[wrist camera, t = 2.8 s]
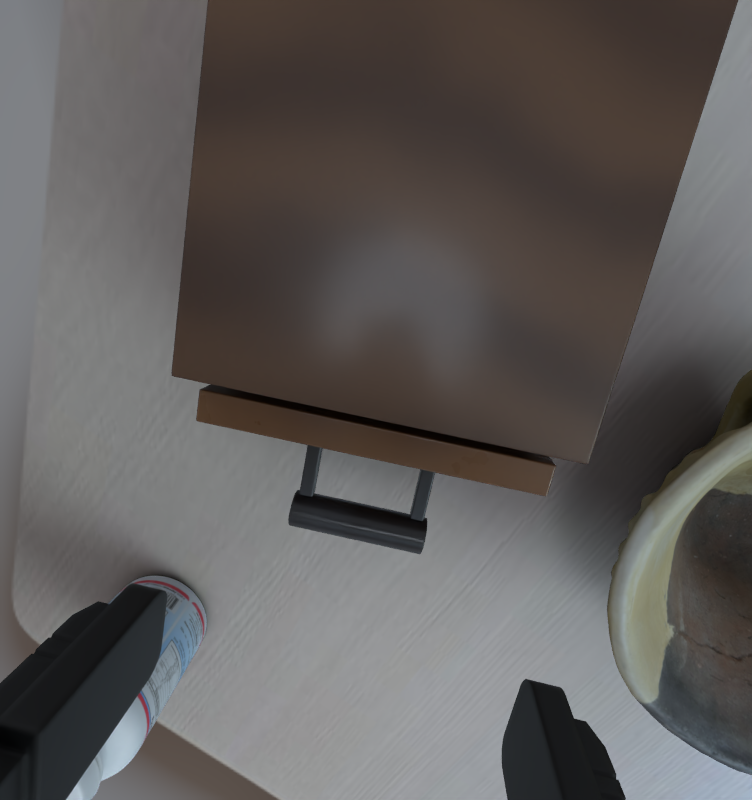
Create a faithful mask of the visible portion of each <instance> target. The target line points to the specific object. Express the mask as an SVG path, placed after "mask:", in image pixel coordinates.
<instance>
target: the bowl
mask: <svg viewBox="0 0 752 800" xmlns="http://www.w3.org/2000/svg"><path fill="white" fill-rule="evenodd" d="M628 529H629V533H628V537H627V538H626V539H625V540H624V541H623V542H622V543H621V544H620V545H619V550H618V553H619V555H618V560H617V562H616V563H615V564H614V566H613V568H612V571H611V575H612V580H611V584H610V590H609V597H608V605H607V613H608V624H609V634H610V640H611V645H612V651H613V655H614V658H615V661H616V664H617V667H618V670H619V672H620V674H621V676H622V678H623V680H624V681H625V683H626V685H627V686H628V688H629V690H630V692H631V693H632V695H633V696H634V697H635V698H636V699H637V701H638V702H639V703H640V704H641V705H642V706H643V707H644V708H645V709H646V710H647V711H648V712H649V713H650V714H651V715H652V716H653V717H654V718H655V719H656V720H657V721H658V722H659V723H660V724H662V725H663V726H664V727H665V728H666V729H667V730H669V731H670V732H671V733H673V734H674V735H676V736H677V737H679V738H680V739H682V740H683V741H685V742H686V743H687V744H689V745H690V746H692V747H693V748H695V749H697V750H698V751H700V752H701V753H703V754H705V755H707V756H709V757H711V758H713V759H714V760H716V761H718V762H720V763H722V764H724V765H726V766H728V767H730V768H733V769H735V770H737V771H741V772H744V773H747V774H750V775H752V370H750V371H749V372H748V373H746V374H745V375H744V376H743V377H742V378H741V379H740V380H739V382H738V383H737V385H736V387H735V389H734V391H733V393H732V395H731V398H730V400H729V402H728V404H727V406H726V409H725V412H724V414H723V416H722V419H721V421H720V423H719V426H718V429H717V431H716V433H715V435H714V437H713V438H712V440H711V441H710V442H709V443H708V444H707V445H706V446H704V447H702V448H699V449H697V450H693V451H691V452H690V453H689V454H688V455H687V456H686V457H684V458H683V460H682V462H681V463H680V464H678V465H676V466H675V467H674V468H673V469H672V471H670V472H669V473H668V474H667V475H666V477H665V480H664V482H663V484H662V485H661V487H660V488H659V490H658V491H657V492H655V493H651V494H647V495H646V496H645V497H644V498H643V499H642V501H641V508H640V510H639V512H638V513H637V514H636V515H635V516H634V517H633V518H632V519H631V520H630V521H629V523H628Z"/></svg>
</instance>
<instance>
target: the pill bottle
mask: <svg viewBox="0 0 752 800" xmlns="http://www.w3.org/2000/svg"><path fill="white" fill-rule="evenodd" d="M131 583H135V584H139V585H143V586H148V587H152V588H156V589H160V590H164V591H166V593H167V604H166V613H165V622H164V631H163V639H162V647H161V652H160V656H159V659H158V662H157V664H156V667H155V669H154V671H153V673H152V675H151V677H150V678H149V680H148V681H147V683H146V684H145V686H144V687H143V689H142V690H141V692H140V693H139V695H138V696H137V697H136V699H135V700H134V702H133V703H132V705H131V706H130V708H129V709H128V711H127V712H126V713H125V715H124V716H123V718H122V719H121V721H120V722H119V724H118V725H117V726H116V728H115V729H114V731H113V732H112V734H111V735H110V737H109V738H108V740H107V741H106V742H105V744H104V745H103V747H102V748H101V750H100V751H99V753H98V754H97V756H96V757H95V758H94V760H93V761H92V763H91V764H90V766H89V767H88V769H87V770H86V771H85V773H84V774H83V776H82V777H81V779H80V780H79V782H78V783H77V785H76V786H75V787H74V789H73V790H72V792H71V793H70V795H69V796H68V798H67V799H66V800H91V799H92V798H93V797H94V796H95V794H96V793H97V791H98V788H99V785H100V782H101V781H102V780H105V779H107V778H109V777H111V776H113V775H115V774H116V773H117V772H119V771H120V770H122V769H123V768H124V767H125V766H126V765H127V764H128V763H129V762H130V761H131V760H132V759H133V757H134V756H135V755H136V753H137V752H138V750H139V749H140V747H141V746H142V744H143V742H144V740H145V739H146V737H147V735H148V733H149V732H150V730H151V728H152V727H153V725H154V723H155V722H156V720H157V718H158V716H159V715H160V713H161V711H162V710H163V708H164V706H165V704H166V703H167V701H168V699H169V697H170V696H171V694H172V692H173V691H174V689H175V687H176V685H177V684H178V682H179V680H180V679H181V677H182V675H183V673H184V672H185V670H186V668H187V667H188V665H189V663H190V661H191V660H192V658H193V656H194V655H195V653H196V651H197V649H198V648H199V646H200V644H201V642H202V640H203V638H204V635H205V632H206V627H207V618H206V613H205V610H204V607H203V605H202V603H201V601H200V600H199V598H198V597H197V596H196V594H195V593H194V592H193V591H192V590H191V589H189V588H188V587H187V586H185V585H184V584H182V583H181V582H179V581H177V580H174V579H172V578H169V577H164V576H146V577H142V578H139V579H137V580H135V581H133V582H131ZM131 583H129V584H131ZM129 584H128V585H129ZM128 585H127V586H128ZM127 586H125V587H124V588H123V589H122V590H121V591H120V592H119V593H118V594H117V595H116V596H115V597H114V598H113V599H112V600H111V601H110V602H109V603H108V604H110V603H111V602H112V601H113V600H114V599H115V598H116V597H117V596H118V595H119V594H120V593H121V592H122V591H123V590H124V589H125V588H126V587H127Z"/></svg>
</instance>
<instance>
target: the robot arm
mask: <svg viewBox="0 0 752 800" xmlns="http://www.w3.org/2000/svg"><path fill="white" fill-rule="evenodd" d="M166 604H167V593H166V591H164V590H160V589H156V588H152V587H148V586H143V585H139V584H135V583H131V584H129V585H128V586H127V587H126V588H125V589H124V590H123V591H122V592H121V593H120V594H119V595H118V596H117V597H116V598H115V599H114V600H113V601H112V602H111V603H110V604H107V603H103V602H99V601H98V602H96V603H94V604H92V605H91V606H89V607H87V608H85V609H83V610H81V611H79V612H77V613H75V614H73V615H72V616H71V617H70V618H69V619H68V620H67V621H66V622H65V623H63V624H62V625H61V626H60V627H59V628H58V629H57V630H56V631H55V632H54V633H53V634H52V637H51V638H48V639H47V640H46V641H44V642H43V643H42V644H41V645H40V646H39V647H38V648H37V649H36V651H35V653H34V654H31V655H30V656H29V657H28V658H27V659H25V660H24V661H23V662H22V663H21V664H20V665H19V666H18V667H17V668H16V669H15V670H14V671H13V672H12V673H11V674H10V675H9V676H8V677H7V678H5V679H4V680H3V681H2V682H1V683H0V800H66V799H67V798H68V796H69V795H70V793H71V792H72V790H73V789H74V787H75V786H76V785H77V783H78V782H79V780H80V779H81V777H82V776H83V774H84V773H85V771H86V770H87V769H88V767H89V766H90V764H91V763H92V761H93V760H94V758H95V757H96V756H97V754H98V753H99V751H100V750H101V748H102V747H103V745H104V744H105V742H106V741H107V740H108V738H109V737H110V735H111V734H112V732H113V731H114V729H115V728H116V726H117V725H118V724H119V722H120V721H121V719H122V718H123V716H124V715H125V713H126V712H127V711H128V709H129V708H130V706H131V705H132V703H133V702H134V700H135V699H136V697H137V696H138V695H139V693H140V692H141V690H142V689H143V687H144V686H145V684H146V683H147V681H148V680H149V678H150V677H151V675H152V673H153V671H154V669H155V667H156V664H157V662H158V659H159V656H160V652H161V647H162V639H163V631H164V622H165V613H166ZM502 769H503V775H504V781H505V787H506V793H507V799H508V800H625V799H626V798H625V795H624V793H623V790H622V788H621V785H620V783H619V780H616V773H615V770H614V768H613V765H612V763H611V760H610V758H609V755H608V753H607V750H606V748H605V746H604V745H603V744H602V742H601V741H600V740H599V738H598V737H597V736H596V734H595V733H594V732H593V730H592V729H591V728H590V726H589V725H588V724H587V722H585V721H581V720H577V719H574V718H573V715H572V712H571V709H570V706H569V704H568V701H567V698H566V695H565V693H564V691H563V689H562V688H560V687H557V686H552V685H548V684H544V683H540V682H536V681H532V680H528V679H525V680H524V681H523V682H522V684H521V686H520V689H519V692H518V695H517V698H516V701H515V704H514V707H513V710H512V713H511V716H510V719H509V721H508V724H507V727H506V730H505V734H504V738H503V744H502Z"/></svg>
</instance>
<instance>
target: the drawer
mask: <svg viewBox="0 0 752 800" xmlns="http://www.w3.org/2000/svg"><path fill="white" fill-rule="evenodd" d="M196 420H197V421H199V422H204V423H208V424H213V425H218V426H222V427H227V428H232V429H236V430H241V431H245V432H250V433H255V434H259V435H264V436H269V437H273V438H278V439H282V440H287V441H292V442H296V443H301V444H306V445H308V447H307V453H306V458H305V464H304V470H303V476H302V482H301V487H300V490H297V491H296V493H295V495H294V498H293V501H292V505H291V509H290V513H289V525H291V526H295V527H300V528H304V529H309V530H313V531H318V532H322V533H327V534H331V535H336V536H340V537H345V538H349V539H354V540H358V541H363V542H367V543H372V544H376V545H381V546H385V547H390V548H394V549H399V550H403V551H408V552H412V553H417V554H421V552H422V550H423V546H424V542H425V537H426V531H427V518H425V517H424V516H425V512H426V508H427V504H428V500H429V496H430V492H431V488H432V484H433V479H434V475H435V473H440V474H445V475H449V476H454V477H458V478H463V479H468V480H472V481H477V482H482V483H486V484H491V485H495V486H500V487H505V488H509V489H514V490H519V491H523V492H528V493H532V494H537V495H542V496H547V495H548V492H549V488H550V485H551V482H552V478H553V475H554V472H555V469H556V465H555V464H554V462H553V461H552V460H551V459H550V457H549V456H544V455H540V454H535V453H530V452H526V451H521V450H516V449H512V448H507V447H502V446H498V445H493V444H488V443H484V442H479V441H474V440H469V439H465V438H460V437H455V436H451V435H446V434H441V433H437V432H432V431H427V430H423V429H418V428H413V427H409V426H404V425H399V424H394V423H390V422H385V421H380V420H376V419H371V418H366V417H362V416H357V415H352V414H348V413H343V412H338V411H334V410H329V409H324V408H319V407H315V406H310V405H305V404H301V403H296V402H291V401H287V400H282V399H277V398H273V397H268V396H263V395H259V394H254V393H249V392H244V391H240V390H235V389H230V388H226V387H221V386H216V385H212V384H211V385H208V386H206V387H204V388H202V389H200V391H199V400H198V409H197V418H196ZM323 448H324V449H329V450H333V451H338V452H343V453H347V454H352V455H357V456H361V457H366V458H370V459H375V460H380V461H384V462H389V463H394V464H398V465H403V466H407V467H412V468H417V469H420V473H419V478H418V482H417V486H416V490H415V495H414V499H413V503H412V507H411V512H410V514H406V513H402V512H397V511H393V510H388V509H384V508H379V507H374V506H370V505H365V504H361V503H356V502H352V501H347V500H342V499H338V498H333V497H329V496H324V495H320V494H315V493H314V492H315V488H316V483H317V477H318V471H319V466H320V460H321V455H322V449H323Z"/></svg>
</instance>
